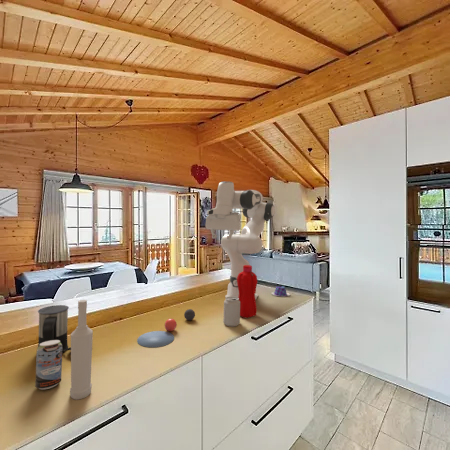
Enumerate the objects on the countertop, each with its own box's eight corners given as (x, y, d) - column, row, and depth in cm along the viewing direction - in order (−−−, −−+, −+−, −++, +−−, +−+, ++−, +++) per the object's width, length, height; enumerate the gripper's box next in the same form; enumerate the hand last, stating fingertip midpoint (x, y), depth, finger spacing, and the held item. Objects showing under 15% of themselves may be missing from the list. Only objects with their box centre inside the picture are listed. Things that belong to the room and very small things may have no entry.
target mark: (154, 328, 115) (154, 328, 115) (181, 336, 108) (181, 335, 108) (129, 341, 102) (129, 341, 102) (157, 350, 96) (157, 350, 96)
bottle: (66, 395, 71) (67, 301, 70) (85, 385, 75) (86, 296, 75) (76, 402, 68) (77, 305, 68) (95, 392, 72) (97, 300, 72)
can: (238, 328, 118) (239, 301, 118) (221, 326, 119) (222, 299, 119) (240, 321, 125) (241, 296, 125) (225, 320, 127) (225, 295, 127)
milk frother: (35, 349, 95) (36, 307, 94) (84, 337, 105) (85, 299, 104) (40, 367, 84) (40, 320, 83) (94, 352, 94) (95, 310, 94)
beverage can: (35, 396, 70) (35, 351, 70) (35, 382, 76) (35, 340, 76) (63, 388, 74) (63, 345, 74) (60, 375, 80) (61, 335, 80)
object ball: (169, 327, 117) (169, 316, 116) (178, 329, 114) (179, 318, 114) (161, 331, 112) (162, 319, 112) (171, 334, 110) (171, 322, 110)
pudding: (293, 297, 170) (293, 288, 170) (276, 298, 166) (277, 289, 166) (283, 291, 182) (284, 284, 181) (267, 292, 178) (268, 285, 178)
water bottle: (247, 320, 127) (249, 268, 126) (233, 313, 136) (234, 264, 135) (261, 317, 132) (263, 266, 132) (247, 310, 141) (248, 263, 141)
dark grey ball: (188, 317, 129) (188, 307, 129) (196, 319, 127) (197, 308, 127) (181, 320, 125) (182, 310, 124) (190, 322, 122) (191, 312, 122)
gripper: (244, 213, 134) (241, 240, 133) (212, 213, 146) (209, 238, 145) (237, 211, 129) (235, 239, 128) (204, 211, 141) (202, 237, 140)
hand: (221, 238), depth 137 cm, fingers open, 8 cm apart
